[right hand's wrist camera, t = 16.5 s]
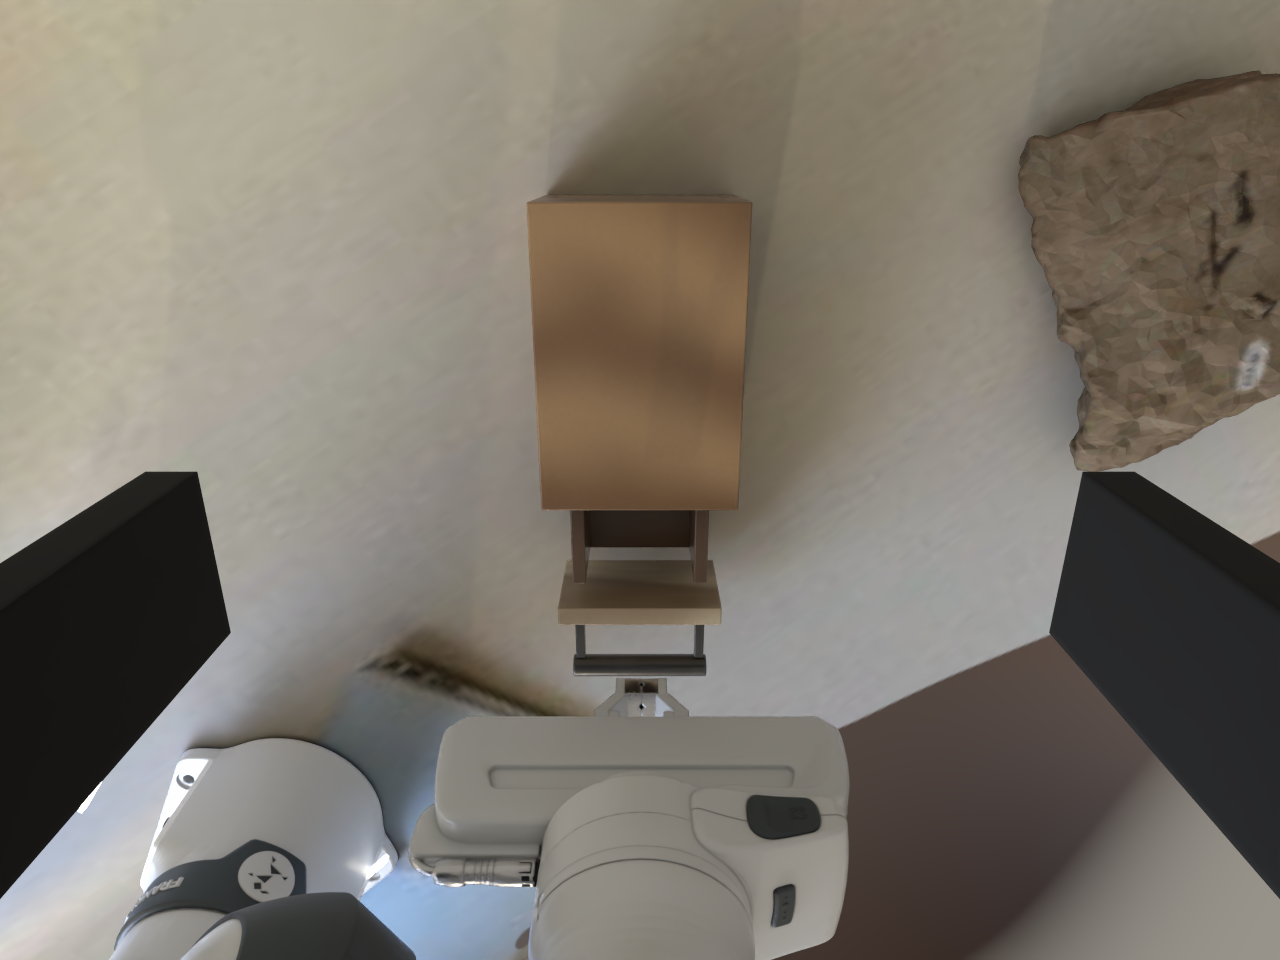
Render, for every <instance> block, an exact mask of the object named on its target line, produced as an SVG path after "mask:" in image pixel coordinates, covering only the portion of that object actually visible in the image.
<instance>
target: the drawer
mask: <svg viewBox="0 0 1280 960" xmlns="http://www.w3.org/2000/svg"><path fill="white" fill-rule="evenodd" d="M570 514H571V543H572V560H568V561H567V562H566V568H565V573H564V579H563V584H562V590H561V595H560V601H559V606H558V620H559V625H576V654H575V655H574V664H573V670H574V676H705V675H706V656H705V654H703V644H704V625H720V624H721V603H720V598H719V592H718V587H717V581H716V575H715V570H714V564H713V561H712V560H707V555H708V524H709V510H570ZM590 547H689V549H690V557H691V560H589V554H590ZM585 625H695V626H694V654H586V638H585Z"/></svg>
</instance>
